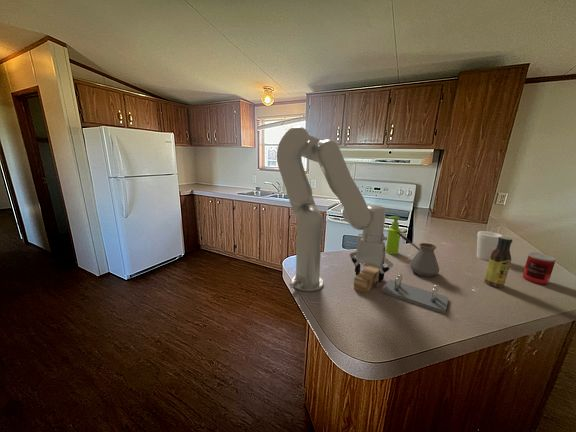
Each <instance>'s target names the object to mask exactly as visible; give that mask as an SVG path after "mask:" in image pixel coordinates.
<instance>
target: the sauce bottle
mask: <svg viewBox="0 0 576 432" xmlns="http://www.w3.org/2000/svg"><path fill="white" fill-rule="evenodd" d="M512 243H513V238H511V237H508V236H507V237H506V236H503V237H499V238H498V245H497V248H496V249H494V250H493V251H492V253H491V256H490V259H489V260H488V264H487V268H486V270H485V275H484V283H486V284H487V285H488V286H491V287H495V288H503V287H505V284H506V280H507V277H508V273H509V270H510V266H511V261H512V255H511V250H510V249H511V245H512Z"/></svg>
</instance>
